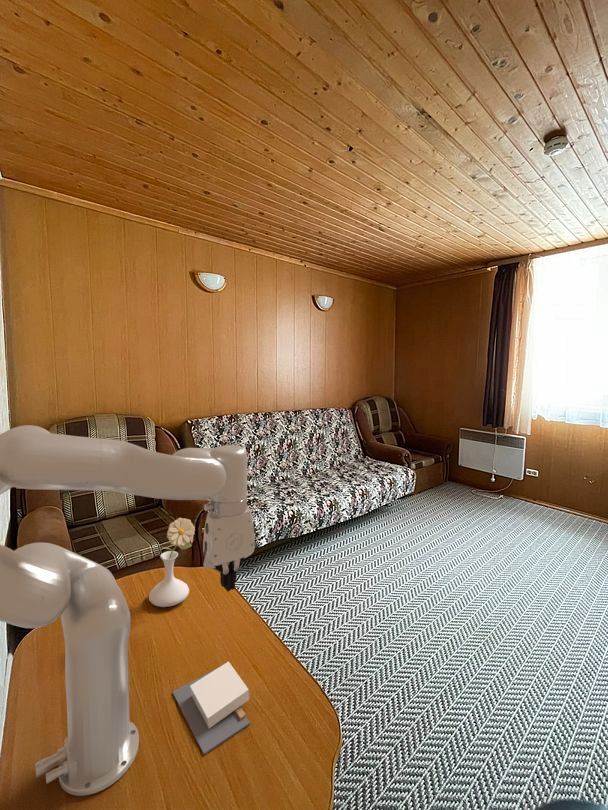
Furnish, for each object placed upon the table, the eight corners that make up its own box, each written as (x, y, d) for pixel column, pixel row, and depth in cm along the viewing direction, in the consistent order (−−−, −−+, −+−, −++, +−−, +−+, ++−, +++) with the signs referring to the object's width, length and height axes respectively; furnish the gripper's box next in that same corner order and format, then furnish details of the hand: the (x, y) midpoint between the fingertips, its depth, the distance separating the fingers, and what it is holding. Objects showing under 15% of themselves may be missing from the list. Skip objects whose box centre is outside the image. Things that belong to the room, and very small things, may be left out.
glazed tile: (249, 700, 77) (209, 729, 71) (229, 671, 84) (191, 696, 78) (248, 689, 76) (207, 718, 71) (228, 661, 83) (189, 685, 78)
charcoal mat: (204, 755, 67) (204, 750, 67) (172, 693, 79) (172, 689, 79) (249, 724, 73) (250, 719, 73) (214, 671, 85) (214, 667, 85)
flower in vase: (145, 613, 104) (144, 528, 101) (151, 589, 115) (151, 512, 112) (194, 607, 107) (194, 525, 105) (195, 584, 118) (195, 509, 116)
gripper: (201, 519, 70) (201, 609, 72) (268, 503, 79) (267, 584, 81) (187, 506, 76) (188, 590, 78) (251, 493, 85) (250, 568, 87)
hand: (228, 586), depth 79 cm, fingers closed
